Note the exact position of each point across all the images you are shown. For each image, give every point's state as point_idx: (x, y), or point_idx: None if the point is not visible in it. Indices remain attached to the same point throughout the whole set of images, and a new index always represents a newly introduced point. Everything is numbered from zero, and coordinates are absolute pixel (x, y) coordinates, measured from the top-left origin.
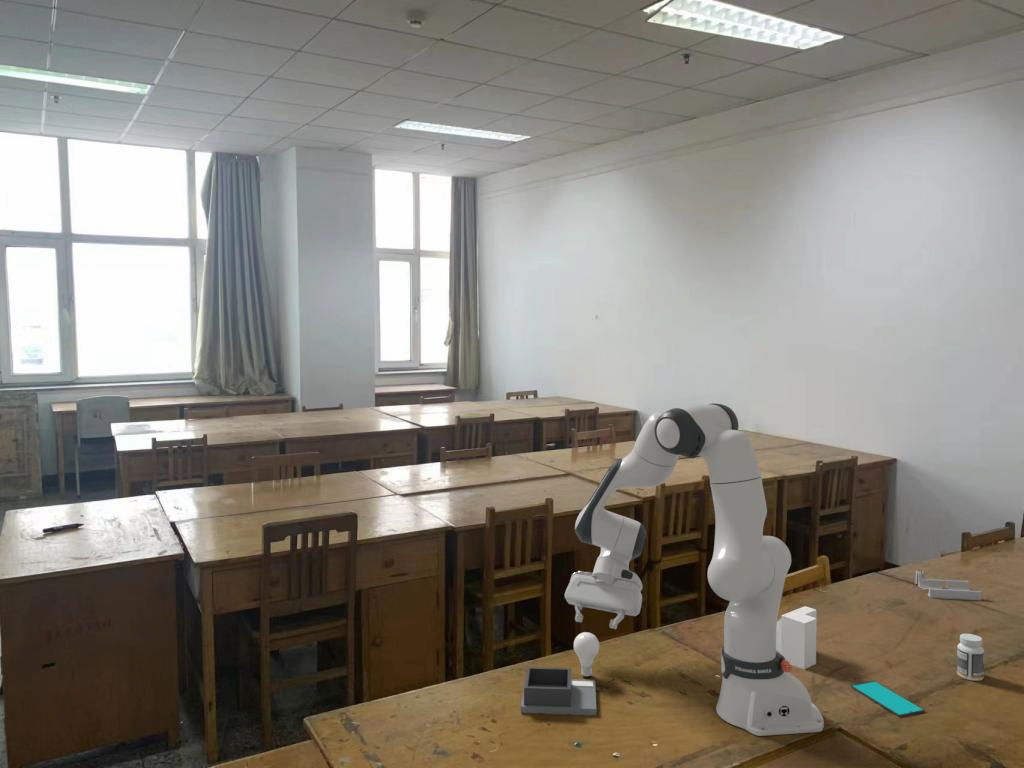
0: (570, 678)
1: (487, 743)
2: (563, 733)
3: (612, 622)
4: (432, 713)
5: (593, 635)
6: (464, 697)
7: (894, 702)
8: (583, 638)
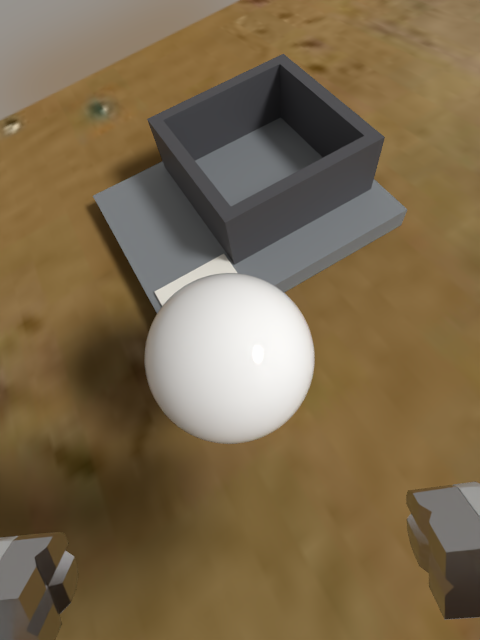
0: (184, 165)
1: (265, 24)
2: (145, 117)
3: (6, 564)
4: (459, 16)
5: (169, 354)
6: (472, 85)
7: None
8: (212, 278)
